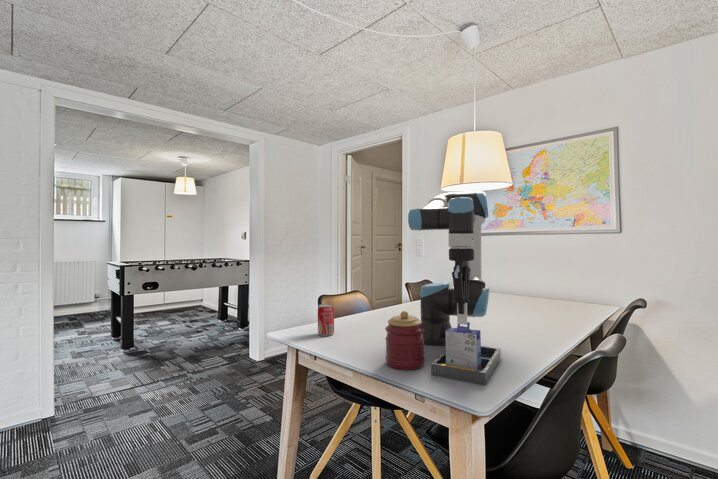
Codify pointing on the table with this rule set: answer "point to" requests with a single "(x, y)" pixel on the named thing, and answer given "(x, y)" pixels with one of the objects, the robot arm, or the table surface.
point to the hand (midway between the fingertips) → (462, 323)
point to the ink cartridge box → (463, 347)
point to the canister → (405, 342)
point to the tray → (488, 365)
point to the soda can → (325, 320)
